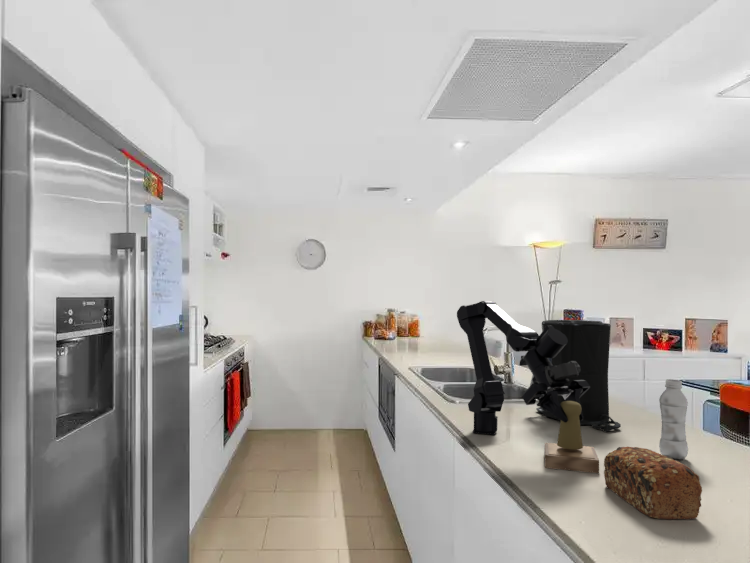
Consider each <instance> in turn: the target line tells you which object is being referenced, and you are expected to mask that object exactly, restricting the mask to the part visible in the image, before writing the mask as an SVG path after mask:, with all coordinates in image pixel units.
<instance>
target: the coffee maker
mask: <svg viewBox="0 0 750 563" xmlns="http://www.w3.org/2000/svg"><path fill="white" fill-rule="evenodd" d="M546 326H553V327H554V329H557V330H559V331H560V332H562V333H563V334H565V336H566V337H567V340H568V342H567V344H566V345H565V346H564V347H563V349H562V350H561V351H560V352H559V353H558V354H557V355H556V357H554V358H548V359H549V360H550V362H551V363H552V365H553V366H555V365H557V366H558V365H560V364H563V363H568V362H570V361H576V362H577V363H578V364H579V366H580V367H581V368H580V369H581V371H580V372H579V373H578V374H579V375H578V376H573V377H570V378H568V379H569V382H568V383H565V386H568V385H569V384H570V383H571V382H572V381H573V380H586V381H587V382H588V384H589V385H590V388H589V389H588V390H587V391H586V392H585V393H584V394H583V395H582V396H581V397H580V405H581V408H582V413H583V417H584V418H583V420H581V421H580V426H581V425H582V426H591V427H592V428H594V429H597V430H602V432H606V433H607V432H610V431H614V430H617V429H620V428H621V423H620V422H618V421H615V420H614V419H613V418H612V417H611V416H610V405H609V403H610V402H609V400H610V399H609V365H610V364H609V362H610V361H609V360H610V344H611V342H610V340H611V327H612V326H611V324H610V323H606V322H603V321H601V320H585V319H583V320H582V319H581V320H580V319H546V320H542V322H541V333H542V332H543V330H544V328H545V327H546ZM531 375H532V376H531V379H530V384H529V387H530V386H531V384H534V383H538V382H533V380H532V379H533V377H534V376H533V374H531ZM557 396H558V401H559V403H560V404H561V402H563V401H564V400H565V399H564V397H563V396H562V395H557ZM535 399H536V401H539V400H538V397H535ZM535 409H536V411H537V412H539V413H541V414H543V415H545V417H546V418H551V419H555V420H557V421H560V422H561V420H560V419H559V418H557V417H556V416H554V415H553V414H551V413H550V412H548V411H547V410H545V409H543V408H542V407H540V406H539V407H538V406H537V407H535Z"/></svg>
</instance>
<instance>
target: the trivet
mask: <svg viewBox="0 0 750 563" xmlns="http://www.w3.org/2000/svg"><path fill="white" fill-rule="evenodd" d="M543 454H544V466H545V469H556V470H565V471H572V472H573V471H574V472H583V473H594V474H599V473H600V460H599V457H598V454H597V452H596V450H595V447H594V446H588V445H587V446H585V445H583V448H582V449H576V450H574V449H565V448H562V447H559V446H558V445H557V443H555V442H544V452H543Z"/></svg>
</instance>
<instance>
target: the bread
mask: <svg viewBox="0 0 750 563" xmlns="http://www.w3.org/2000/svg"><path fill="white" fill-rule="evenodd" d="M603 467H604V470H603V474H604V476H603V477H604V482H605V485H606V488H607V487H608V488H607V489H609V490H611V491H612V492H613V493H614V494H616V495H617V496H618V497H619V498H621V499H623V501H626V503H628V504H629V505H630V506H633V508H635V509H636V510H638V512H641V513H642V514H643V515H646V516H648V518H653V519H658V520H689V521H690V520H694V519H697V518H698V516H699V514H700V508H701V507H702V503H701V501H702V493H703V487H702V485H701V482H700V476H699V475H698V474H697V473H695V472H694V471H693V470H692V469H691V468H690V467H689V466H688V465H686V464H684V463H681V462H680V461H678V460H676V459H672V458H670V457H667V456H664V455H662V454H661V453H659V452H656V451H654V450H651V449H649V448H643V447H639V446H634V447H632V446H618V447H616V448H615V449H614V450H612V451H611V452H609V453H607V455H605V456H604V460H603Z"/></svg>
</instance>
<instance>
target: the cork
mask: <svg viewBox="0 0 750 563" xmlns="http://www.w3.org/2000/svg"><path fill="white" fill-rule="evenodd" d="M560 405H561V407H562V408H563V410H564V412H565V414H566V416H567V418H568V421H567V422H563V421H562V420H561V421H560V424H559V430H558V438H557V443H556V444H557V445H558V446H559V447H562V448H565V449H574V450H576V449H582V448H583V446H584V445H583V438H582V430H581V425H580V420H579V415H580V414H581V410H582V408H581V405H580V404H579V403H577V402H574V401H563V402H561V404H560Z"/></svg>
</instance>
